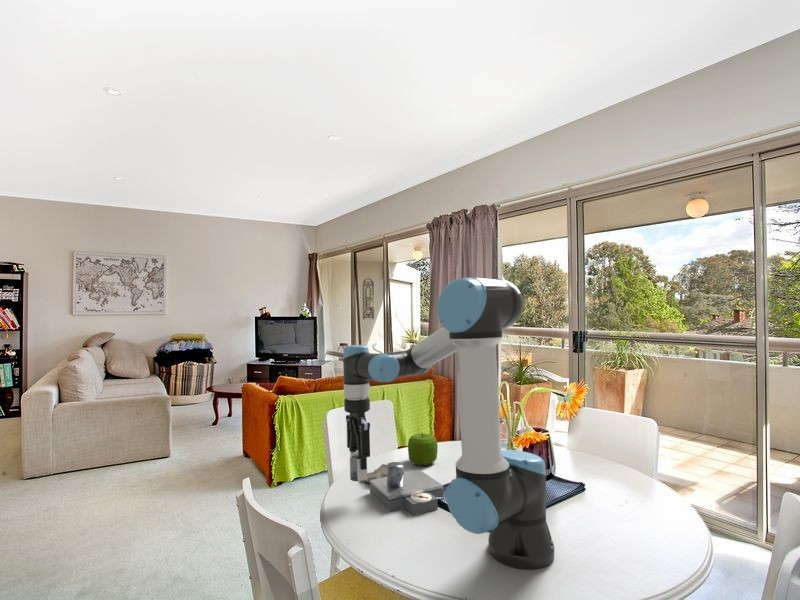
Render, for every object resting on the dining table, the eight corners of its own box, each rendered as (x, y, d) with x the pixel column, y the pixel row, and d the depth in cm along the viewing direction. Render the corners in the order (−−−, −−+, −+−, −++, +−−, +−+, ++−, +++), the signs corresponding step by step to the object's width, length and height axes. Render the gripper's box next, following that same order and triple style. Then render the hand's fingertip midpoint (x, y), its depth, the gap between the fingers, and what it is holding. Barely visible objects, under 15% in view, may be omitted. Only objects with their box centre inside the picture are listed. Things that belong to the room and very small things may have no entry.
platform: (443, 487, 137) (443, 485, 137) (389, 500, 129) (389, 497, 129) (420, 472, 150) (420, 470, 150) (369, 482, 142) (369, 480, 142)
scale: (453, 506, 133) (453, 493, 133) (397, 519, 124) (397, 506, 124) (420, 482, 150) (420, 471, 150) (369, 493, 142) (369, 481, 142)
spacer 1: (369, 479, 133) (369, 458, 133) (353, 482, 131) (353, 461, 131) (363, 474, 138) (363, 454, 138) (347, 477, 135) (347, 456, 136)
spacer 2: (406, 485, 137) (406, 466, 137) (392, 489, 135) (392, 469, 135) (398, 479, 142) (398, 460, 141) (384, 483, 139) (384, 463, 139)
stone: (382, 490, 145) (382, 477, 145) (359, 483, 151) (359, 471, 151) (408, 475, 157) (408, 463, 157) (386, 470, 163) (386, 458, 163)
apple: (435, 469, 162) (434, 438, 162) (405, 466, 165) (405, 436, 165) (439, 458, 173) (439, 429, 173) (411, 456, 175) (411, 428, 175)
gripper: (381, 401, 129) (383, 484, 128) (357, 391, 145) (359, 465, 144) (356, 404, 125) (358, 489, 125) (335, 394, 141) (336, 470, 141)
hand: (358, 476), depth 134 cm, fingers closed on spacer 1, 5 cm apart
